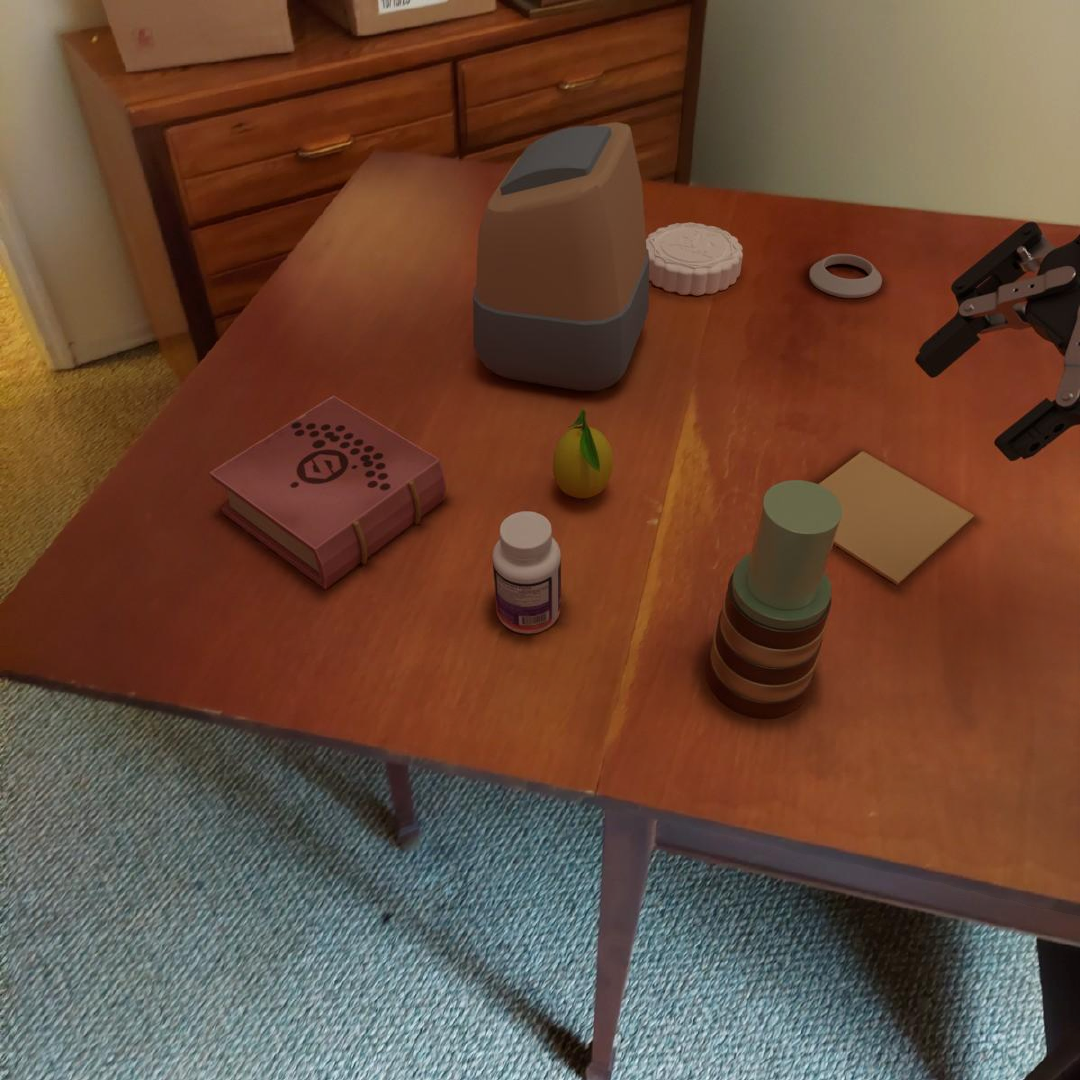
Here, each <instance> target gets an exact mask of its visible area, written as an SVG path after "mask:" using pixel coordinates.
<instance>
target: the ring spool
mask: <svg viewBox="0 0 1080 1080" xmlns="http://www.w3.org/2000/svg"><path fill="white" fill-rule="evenodd" d="M818 484H819V483H815V482H813V481H809V480H803V479H788V480H783V481H779V482H778V483H775V484H774V485H772V486H771V487H770V488H768V489H767V491H766V492H765V493H764V496H763V498H762V503H761V508H760V512H759V517H758V521H757V525H756V530H755V535H754V538H753V542H752V543H753V544H752V548H751V551H750V552H749V553H748V554H746V555H745V556H743V557H742V558H741V559H740V560H739V562H738V563H737V564H736V566H735V567H734V570H733V572H734V573H733V572H732V573H733V578H732V584H731V590H732V595H733V597H734V600H735V602H736V604H737V605H738V606H739V608H740V609H741V610H742V611H743V612H744V613H745V614H746V615H747V616H749V617H750V618H751V619H753V620H755V621H757V622H758V623H760V624H763V625H765V626H769V627H772V628H777V629H798V628H803V627H806V626H809V625H811V624H813V623H815V622H816V621H817V620H819V619H820V618H821V617H822V616H823V614H824V613H825V612H826V609H827V607H828V604H829V601H830V598H831V599H832V590H833V589H832V583H831V580H830V577H829V575H828V574H827V572H826V567H827V565H828V562H829V558H830V555H831V552H832V549H833V546H834V544H833V543H834V539H835V536H836V533H837V530H838V526H839V523H840V520H841V516H842V508H841V504H840V502H839V500H838V499H837V498H836V496H835V495H834V494H833V493H832V492H830V491H829V490H828V489H826V488H824V487H823V486H821V485H818Z"/></svg>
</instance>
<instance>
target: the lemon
mask: <svg viewBox="0 0 1080 1080" xmlns="http://www.w3.org/2000/svg"><path fill="white" fill-rule="evenodd" d="M586 417H587V415H586V409H585V408H582V410H580V412H579V414H578V416H577V418H576V419H575V421H574V422H573V423H572V424H570V425H569V426H568V428H570V429H569V430H568V431H567V432H565V433H564V434H563V435H562V436H561V438H560V439H559V440H558V442H557V445H556V446H555V450H554V452H553V457H552V474H553V478H554V480H555V482H556V484H557V486H558V488H559V489H560V490H561V491H562V492H563V493H564V494H566V495H568V496H570V497H572V498H577V499H589V498H592V497H596V496H597V495H599V494H600V493H601V492H602V491H603V490H604V489H605V488H606V487H607V485H608V484H609V482H610V480H611V477H612V474H613V471H614V454H613V449H612V448H611V447H612V446H611V444H610V443H609V441H608V439H607V437H606V436H605V435H604V434H603V433H602V432H601V431H600V430H599V429H596V428H594V427H592V426H589V425H588V422H587V419H586ZM572 427H573V428H572Z"/></svg>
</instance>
